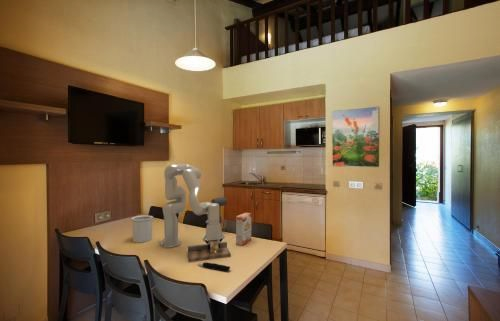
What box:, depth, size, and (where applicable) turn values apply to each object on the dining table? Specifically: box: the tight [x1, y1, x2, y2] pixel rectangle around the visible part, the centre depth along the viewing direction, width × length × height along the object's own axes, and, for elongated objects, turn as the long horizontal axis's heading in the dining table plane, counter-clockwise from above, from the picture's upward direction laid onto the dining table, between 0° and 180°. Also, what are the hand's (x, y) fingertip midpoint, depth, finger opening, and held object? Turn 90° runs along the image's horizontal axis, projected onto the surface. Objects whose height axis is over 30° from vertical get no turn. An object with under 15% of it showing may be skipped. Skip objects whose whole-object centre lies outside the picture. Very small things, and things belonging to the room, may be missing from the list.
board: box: [187, 241, 232, 263], centre depth 153 cm, size 26×14×5 cm, turn 107°
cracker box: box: [235, 212, 252, 246], centre depth 175 cm, size 14×6×21 cm, turn 153°
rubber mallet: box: [210, 196, 228, 232], centre depth 198 cm, size 12×8×30 cm, turn 136°
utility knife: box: [197, 261, 231, 272], centre depth 135 cm, size 22×4×3 cm, turn 69°
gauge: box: [210, 240, 218, 254], centre depth 153 cm, size 5×11×7 cm, turn 16°
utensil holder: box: [131, 215, 154, 244], centre depth 184 cm, size 15×15×18 cm
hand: (213, 249), depth 155 cm, fingers closed on gauge, 5 cm apart
